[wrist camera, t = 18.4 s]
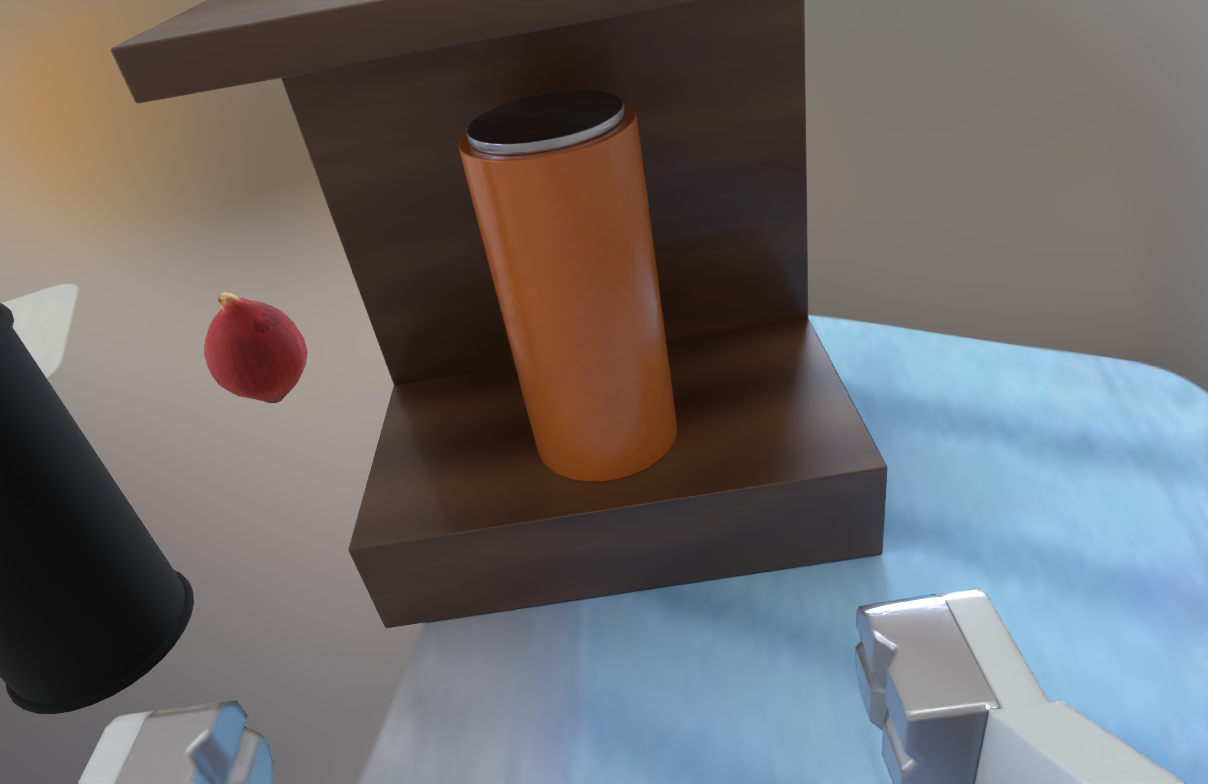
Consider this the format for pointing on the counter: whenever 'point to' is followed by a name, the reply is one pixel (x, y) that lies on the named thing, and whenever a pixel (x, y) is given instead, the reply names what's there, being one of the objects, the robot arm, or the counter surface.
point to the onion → (254, 349)
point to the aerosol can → (71, 556)
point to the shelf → (472, 312)
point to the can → (576, 277)
